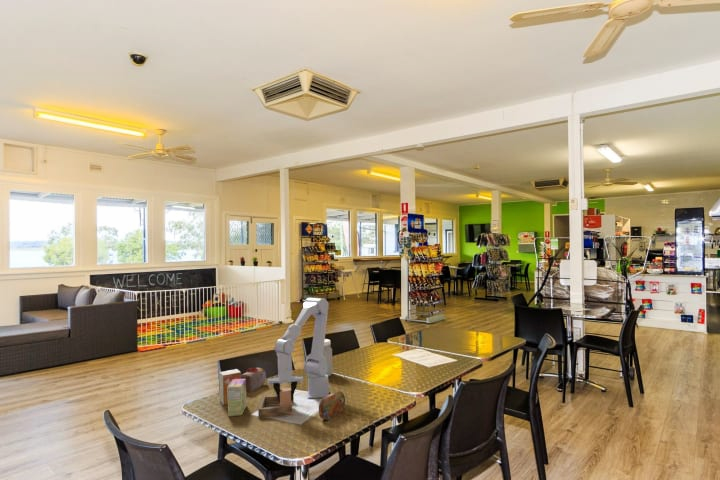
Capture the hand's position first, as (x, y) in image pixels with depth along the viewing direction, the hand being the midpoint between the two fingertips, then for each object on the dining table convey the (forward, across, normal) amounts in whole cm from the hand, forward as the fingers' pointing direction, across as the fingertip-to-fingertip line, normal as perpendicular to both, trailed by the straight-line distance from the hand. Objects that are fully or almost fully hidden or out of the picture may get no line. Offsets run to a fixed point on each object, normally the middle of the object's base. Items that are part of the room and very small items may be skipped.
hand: (285, 400), depth 173 cm
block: (+2, 0, 0) cm, 2 cm away
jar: (+4, +17, +43) cm, 46 cm away
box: (+4, -20, +2) cm, 21 cm away
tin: (+4, +19, -10) cm, 22 cm away
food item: (+4, -18, +30) cm, 35 cm away
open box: (+4, -3, 0) cm, 5 cm away
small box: (+4, -25, +14) cm, 29 cm away
